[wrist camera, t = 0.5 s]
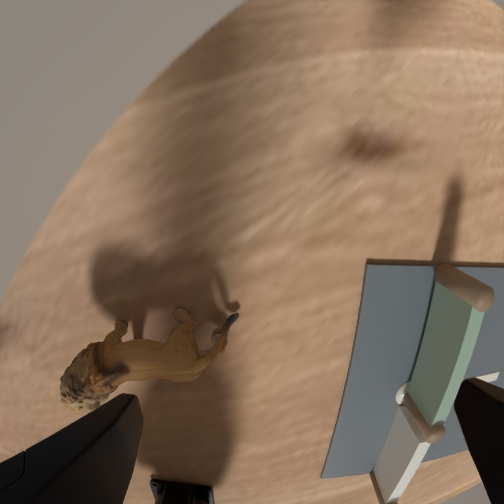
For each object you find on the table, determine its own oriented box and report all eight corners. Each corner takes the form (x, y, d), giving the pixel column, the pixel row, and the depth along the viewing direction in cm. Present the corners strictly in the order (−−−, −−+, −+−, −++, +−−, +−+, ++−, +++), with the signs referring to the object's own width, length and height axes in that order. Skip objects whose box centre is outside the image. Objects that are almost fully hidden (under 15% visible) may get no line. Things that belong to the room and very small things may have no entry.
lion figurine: (111, 374, 23) (74, 432, 16) (85, 328, 22) (36, 378, 15) (249, 336, 22) (247, 403, 15) (226, 280, 21) (212, 332, 14)
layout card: (477, 444, 26) (478, 446, 25) (320, 476, 26) (321, 479, 25) (543, 267, 21) (546, 268, 20) (365, 263, 21) (367, 265, 20)
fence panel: (416, 402, 22) (441, 441, 17) (400, 404, 22) (423, 445, 17) (453, 263, 20) (497, 286, 15) (436, 262, 20) (479, 286, 15)
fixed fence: (380, 473, 26) (395, 514, 20) (367, 475, 26) (380, 517, 20) (411, 402, 23) (438, 446, 18) (395, 404, 23) (420, 450, 18)
